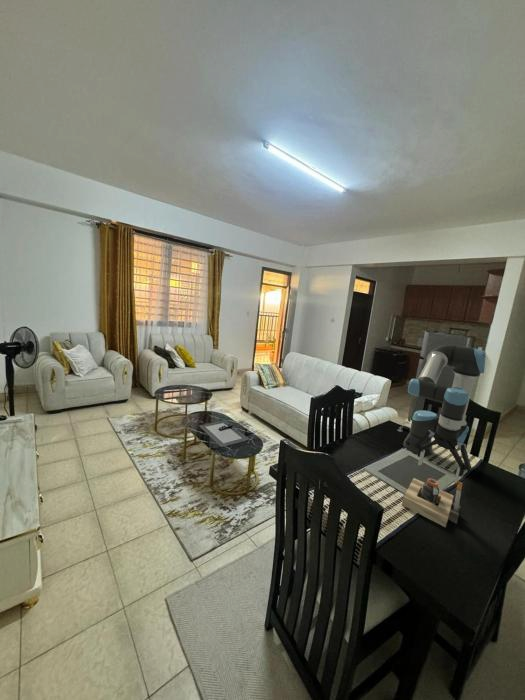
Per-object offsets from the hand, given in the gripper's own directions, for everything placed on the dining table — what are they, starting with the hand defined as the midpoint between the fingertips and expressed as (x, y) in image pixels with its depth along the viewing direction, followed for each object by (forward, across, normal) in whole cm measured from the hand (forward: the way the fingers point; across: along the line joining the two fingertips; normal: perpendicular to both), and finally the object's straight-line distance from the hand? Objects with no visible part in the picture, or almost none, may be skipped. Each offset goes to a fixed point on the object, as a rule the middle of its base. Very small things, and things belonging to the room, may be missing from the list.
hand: (437, 472), depth 117 cm
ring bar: (+13, +9, +1) cm, 16 cm away
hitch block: (+16, +1, 0) cm, 16 cm away
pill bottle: (+16, -1, 0) cm, 16 cm away
